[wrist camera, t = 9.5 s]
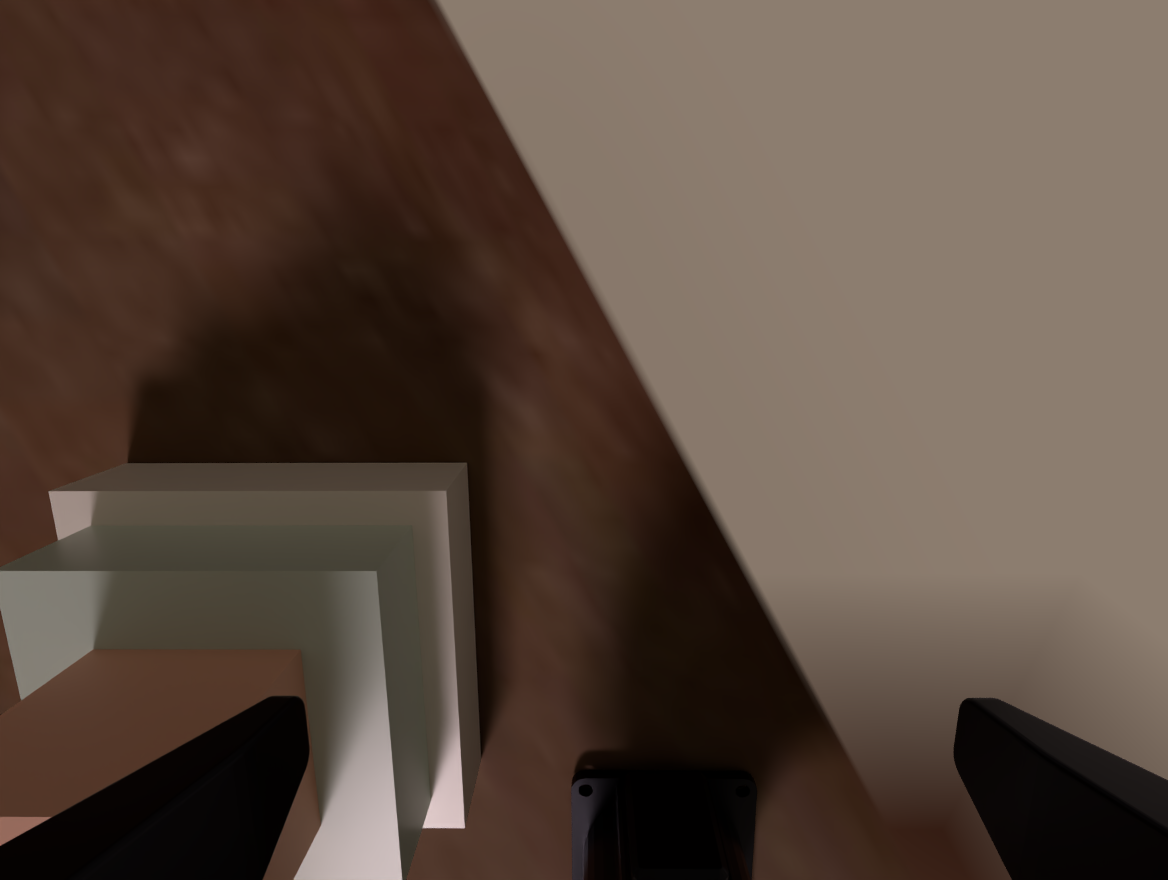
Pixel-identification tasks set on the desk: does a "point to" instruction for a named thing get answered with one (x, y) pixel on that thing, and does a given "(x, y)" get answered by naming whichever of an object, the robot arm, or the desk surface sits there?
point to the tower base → (337, 504)
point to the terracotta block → (140, 730)
